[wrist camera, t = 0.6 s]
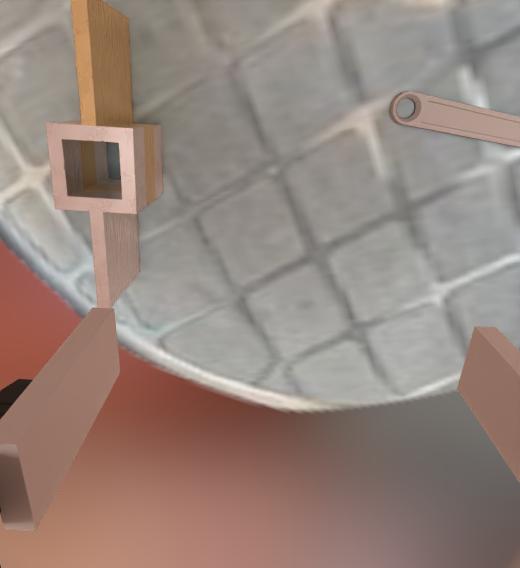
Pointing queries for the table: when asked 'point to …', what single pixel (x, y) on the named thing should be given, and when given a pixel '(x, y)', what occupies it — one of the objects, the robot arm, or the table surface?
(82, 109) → the hinge
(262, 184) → the table surface
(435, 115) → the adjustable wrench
